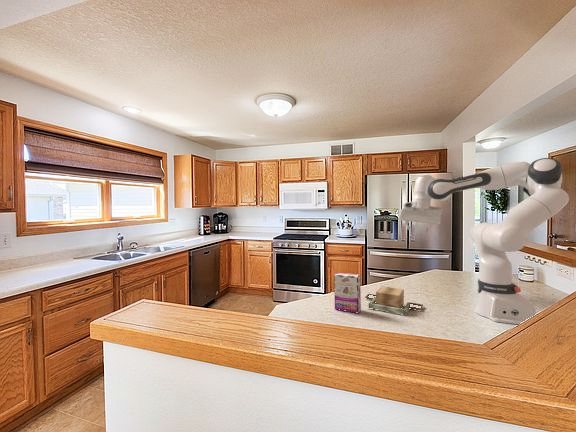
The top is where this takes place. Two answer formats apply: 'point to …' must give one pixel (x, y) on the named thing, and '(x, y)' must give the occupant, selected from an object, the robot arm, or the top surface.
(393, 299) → the block
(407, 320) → the top surface
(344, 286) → the candy bar box
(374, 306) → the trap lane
